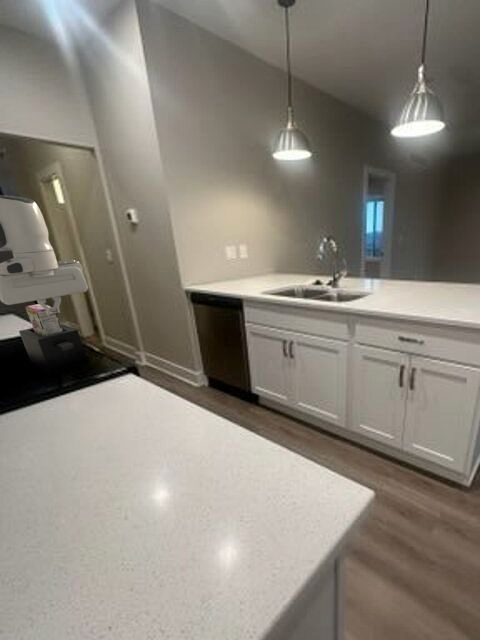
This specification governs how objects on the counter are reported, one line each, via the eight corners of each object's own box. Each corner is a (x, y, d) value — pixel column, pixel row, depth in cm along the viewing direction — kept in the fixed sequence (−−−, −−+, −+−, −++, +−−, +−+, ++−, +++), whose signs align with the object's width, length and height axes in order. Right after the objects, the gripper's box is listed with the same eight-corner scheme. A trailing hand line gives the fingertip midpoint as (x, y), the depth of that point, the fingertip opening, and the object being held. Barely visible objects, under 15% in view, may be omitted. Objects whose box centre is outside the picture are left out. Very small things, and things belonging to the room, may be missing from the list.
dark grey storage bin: (50, 375, 101) (37, 339, 97) (31, 363, 111) (18, 330, 107) (88, 363, 109) (77, 329, 104) (66, 353, 119) (56, 322, 114)
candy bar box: (42, 356, 111) (24, 306, 104) (59, 351, 114) (43, 303, 108) (54, 363, 104) (35, 310, 98) (72, 358, 107) (55, 307, 101)
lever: (62, 350, 98) (61, 346, 98) (57, 348, 101) (55, 344, 100) (74, 347, 101) (72, 343, 100) (68, 345, 103) (67, 341, 103)
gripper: (74, 258, 100) (88, 304, 106) (-14, 267, 86) (6, 321, 91) (84, 259, 97) (97, 307, 102) (-8, 268, 82) (13, 324, 87)
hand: (53, 313), depth 96 cm, fingers closed
